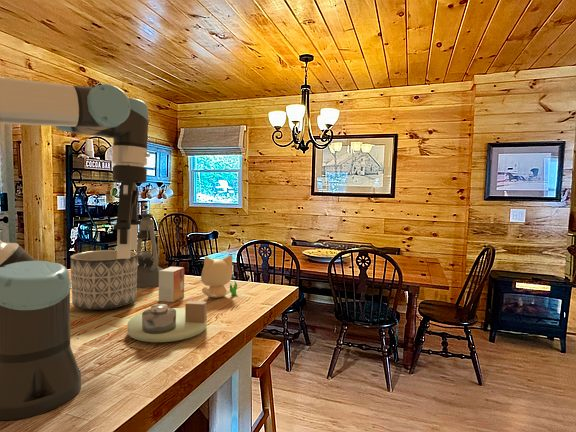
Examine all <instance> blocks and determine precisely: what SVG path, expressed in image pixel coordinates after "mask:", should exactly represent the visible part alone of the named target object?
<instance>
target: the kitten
mask: <svg viewBox="0 0 576 432" xmlns="http://www.w3.org/2000/svg"><path fill="white" fill-rule="evenodd" d="M233 258H234V257H233V255H232V254H229V255H227V256H225V257H224V258H222V259H221V258H213V259H212V258H210V257H209V256H205V257H204V259H203V260H204V261H203V268H202V269H201V270H202V271H201V275H200V280H201V283H202V284H203V285H204V286H205V287H203V288H202V289H201V292H202V293H203V295H205V296H207V297H209V298H222V297H225V296H226V294H227V289H226V287H225V285H227V284H229V283H230V284H229V292H230V293H231V294H230V295H231V296H236V295H237V288H238V284H237V281H234V285H232V283H231V280H232V277H233V271H232V269H233V260H234V259H233ZM206 286H207V287H206Z"/></svg>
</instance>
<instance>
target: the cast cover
mask: <svg viewBox="0 0 576 432" xmlns="http://www.w3.org/2000/svg"><path fill="white" fill-rule="evenodd" d="M173 308H174V307H173ZM173 308H172V307H169V305H168V304H165V303H158V304H153V305H151V306H150V308H148V309H147V310H146V309H145V310H144V311H143V312H142V313H141V314H142V331H143V332H145V333H148V334H162V333H167V332H170V331H172V330H174V329H175V328H176V310H175V309H173Z"/></svg>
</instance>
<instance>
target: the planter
mask: <svg viewBox="0 0 576 432" xmlns="http://www.w3.org/2000/svg"><path fill="white" fill-rule="evenodd" d="M69 257H70V274H71V275H70V278H71V279H70V282H71V302H72V305H73V307H75V308H78V309H81V310H82V309H83V310H92V311H107V310H108V311H109V310H114V309H117V308H120V307H123V306H126V305H130V304H131V303H133V302H134V301H136V299H137V294H138V292H137V291H138V288H137V264H138V263H137V262H138V253H136V251H134V250H131V251H130V259H117V249H105V250H104V249H103V250H89V251H83V252H78V253H73V254H72V255H70V256H69Z"/></svg>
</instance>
